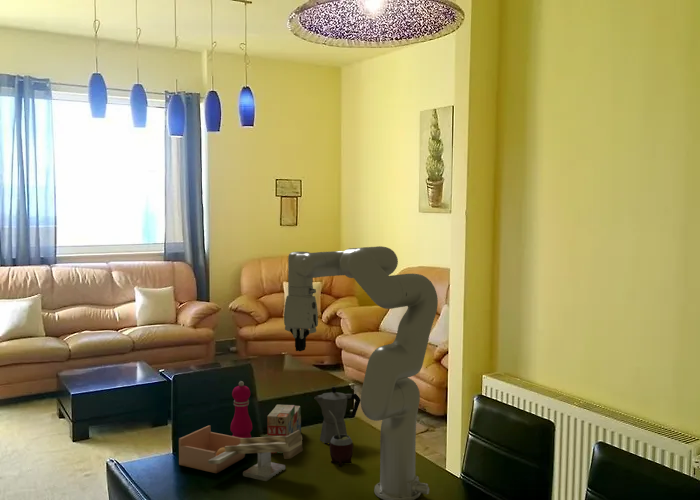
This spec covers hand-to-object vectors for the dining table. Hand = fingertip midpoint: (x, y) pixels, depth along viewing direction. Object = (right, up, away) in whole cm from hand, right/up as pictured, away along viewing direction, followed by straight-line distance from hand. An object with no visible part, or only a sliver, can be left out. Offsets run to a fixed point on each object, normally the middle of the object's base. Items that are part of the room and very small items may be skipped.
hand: (300, 350), depth 208 cm
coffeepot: (+11, -33, +15) cm, 38 cm away
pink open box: (-27, -33, -4) cm, 43 cm away
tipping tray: (-11, -29, -16) cm, 35 cm away
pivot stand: (-10, -34, -12) cm, 37 cm away
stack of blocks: (-6, -33, +13) cm, 36 cm away
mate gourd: (+12, -34, -4) cm, 36 cm away
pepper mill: (-21, -32, +15) cm, 41 cm away
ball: (-23, -31, -6) cm, 39 cm away
